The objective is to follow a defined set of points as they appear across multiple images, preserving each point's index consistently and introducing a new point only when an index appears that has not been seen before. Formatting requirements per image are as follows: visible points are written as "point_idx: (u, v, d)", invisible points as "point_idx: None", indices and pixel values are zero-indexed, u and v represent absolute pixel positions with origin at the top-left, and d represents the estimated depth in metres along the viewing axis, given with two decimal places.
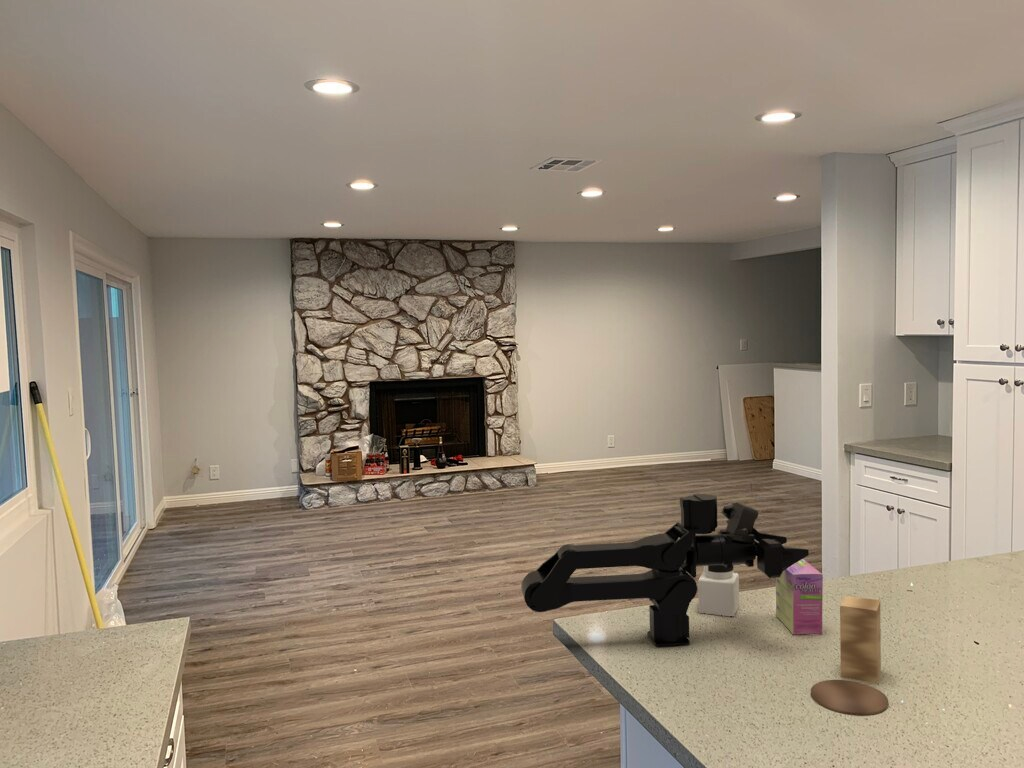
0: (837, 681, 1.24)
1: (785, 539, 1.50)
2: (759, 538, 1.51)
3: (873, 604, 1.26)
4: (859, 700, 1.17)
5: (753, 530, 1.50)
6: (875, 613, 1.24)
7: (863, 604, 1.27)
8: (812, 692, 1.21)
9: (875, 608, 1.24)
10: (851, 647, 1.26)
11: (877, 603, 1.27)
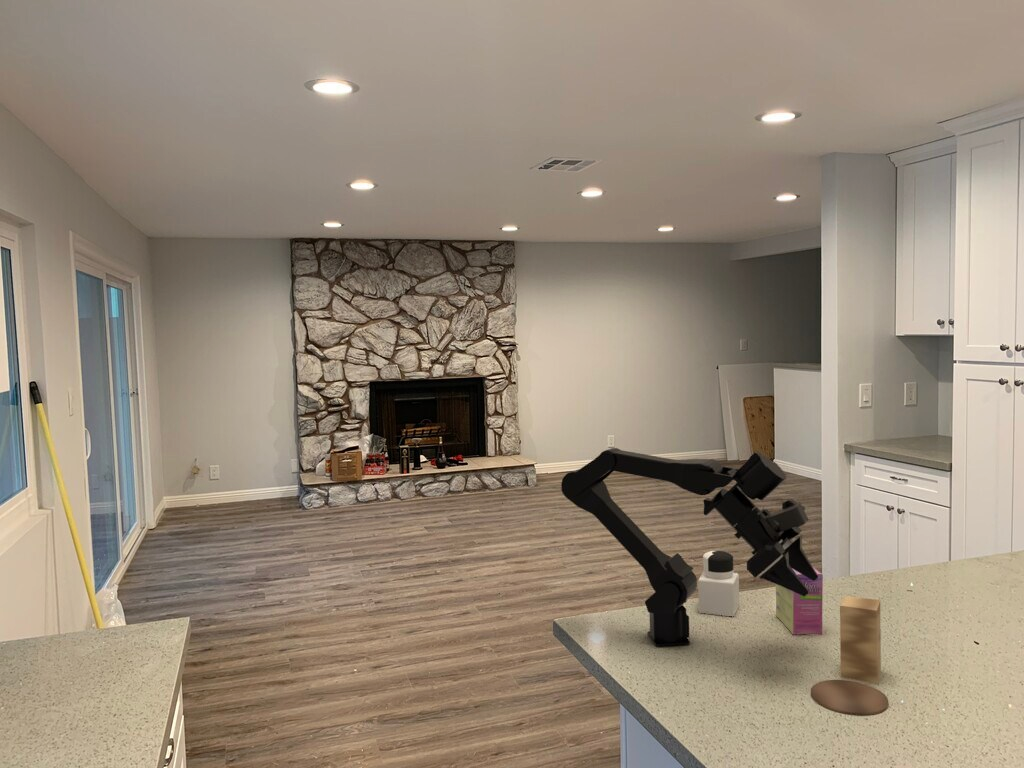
0: (837, 681, 1.24)
1: (815, 577, 1.35)
2: (795, 553, 1.37)
3: (873, 604, 1.26)
4: (859, 700, 1.17)
5: (797, 542, 1.37)
6: (875, 613, 1.24)
7: (863, 604, 1.27)
8: (812, 692, 1.21)
9: (875, 608, 1.24)
10: (851, 647, 1.26)
11: (877, 603, 1.27)
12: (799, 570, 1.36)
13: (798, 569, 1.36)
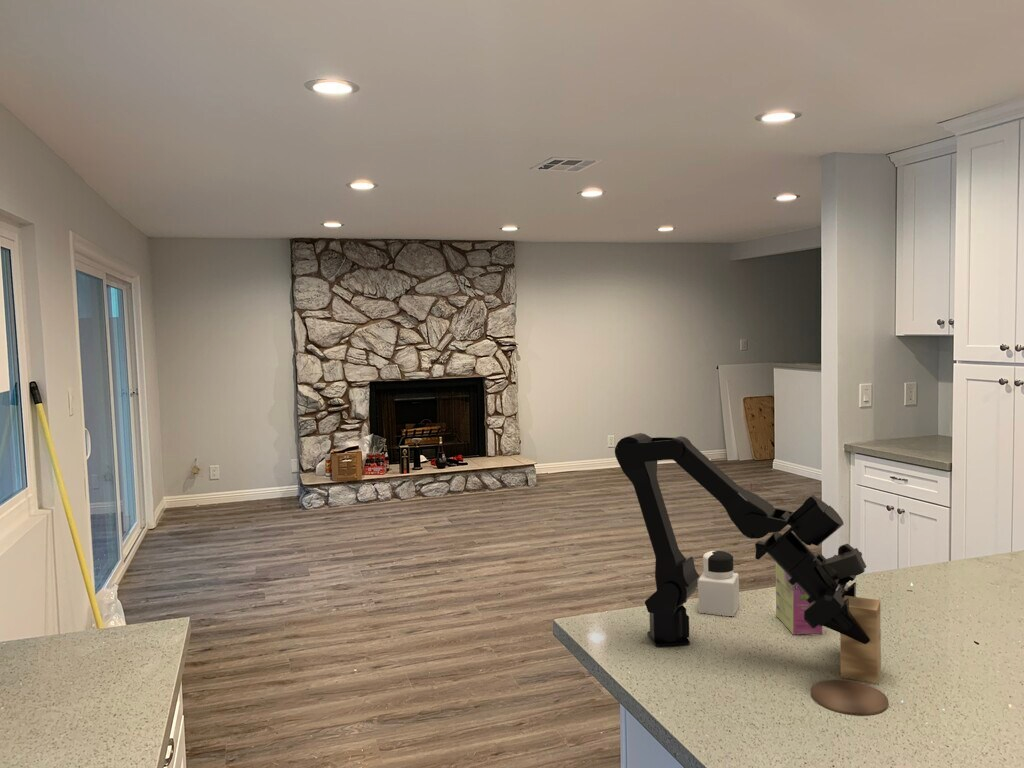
0: (837, 681, 1.24)
1: None
2: None
3: (873, 603, 1.26)
4: (859, 700, 1.17)
5: (851, 591, 1.31)
6: (875, 613, 1.24)
7: (863, 603, 1.27)
8: (812, 692, 1.21)
9: (875, 608, 1.24)
10: (851, 647, 1.26)
11: (877, 603, 1.27)
12: None
13: None
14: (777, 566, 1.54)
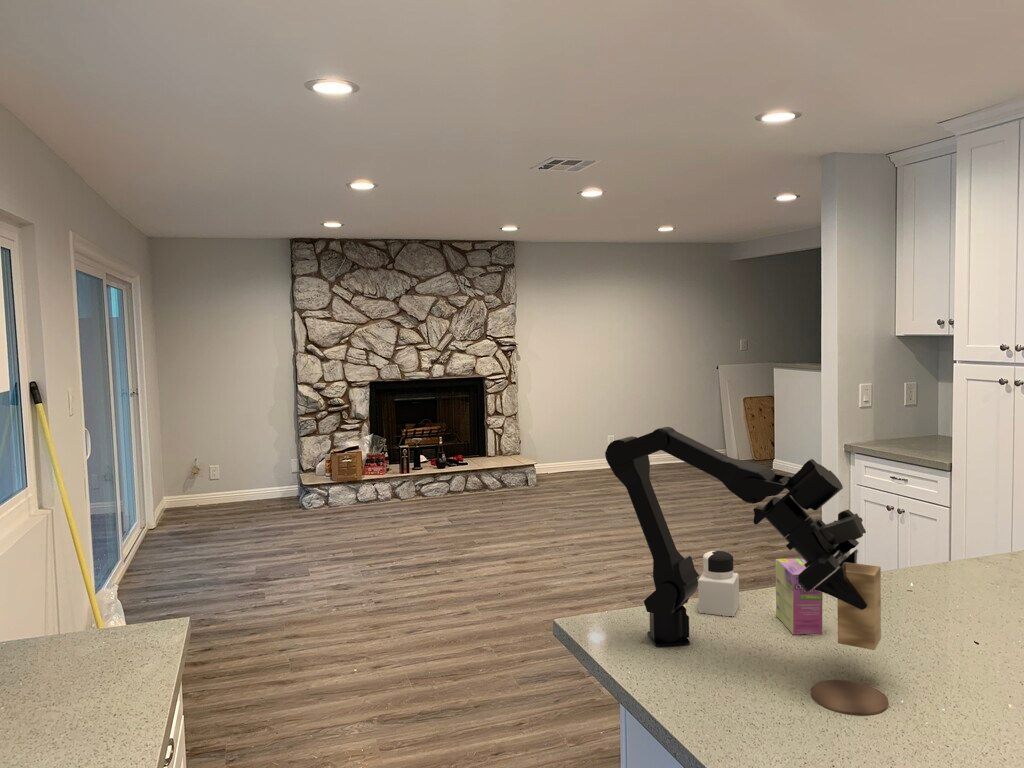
0: (837, 681, 1.24)
1: None
2: None
3: (872, 569, 1.24)
4: (859, 700, 1.17)
5: (851, 558, 1.29)
6: (873, 578, 1.21)
7: (861, 569, 1.24)
8: (812, 692, 1.21)
9: (873, 573, 1.22)
10: (848, 613, 1.24)
11: (876, 569, 1.24)
12: None
13: None
14: (777, 566, 1.53)
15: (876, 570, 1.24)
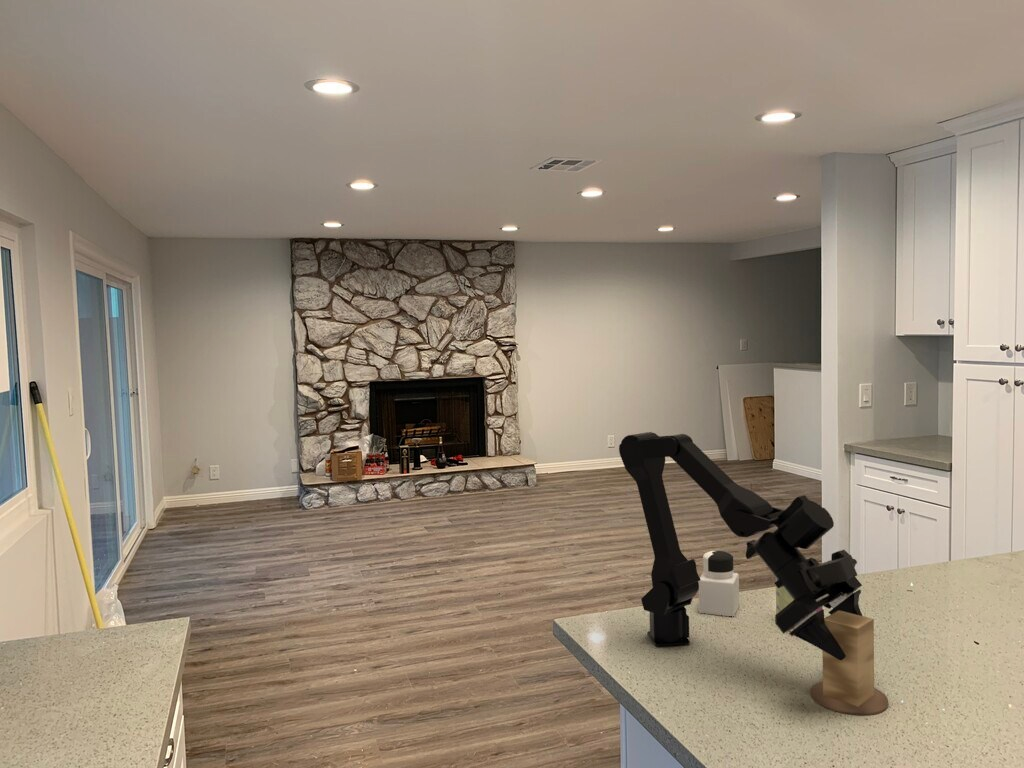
0: None
1: None
2: (848, 610, 1.23)
3: (861, 621, 1.17)
4: None
5: (851, 598, 1.23)
6: (856, 631, 1.15)
7: (849, 620, 1.18)
8: (812, 692, 1.21)
9: (857, 626, 1.16)
10: (833, 664, 1.18)
11: (866, 621, 1.17)
12: None
13: None
14: None
15: (865, 622, 1.17)
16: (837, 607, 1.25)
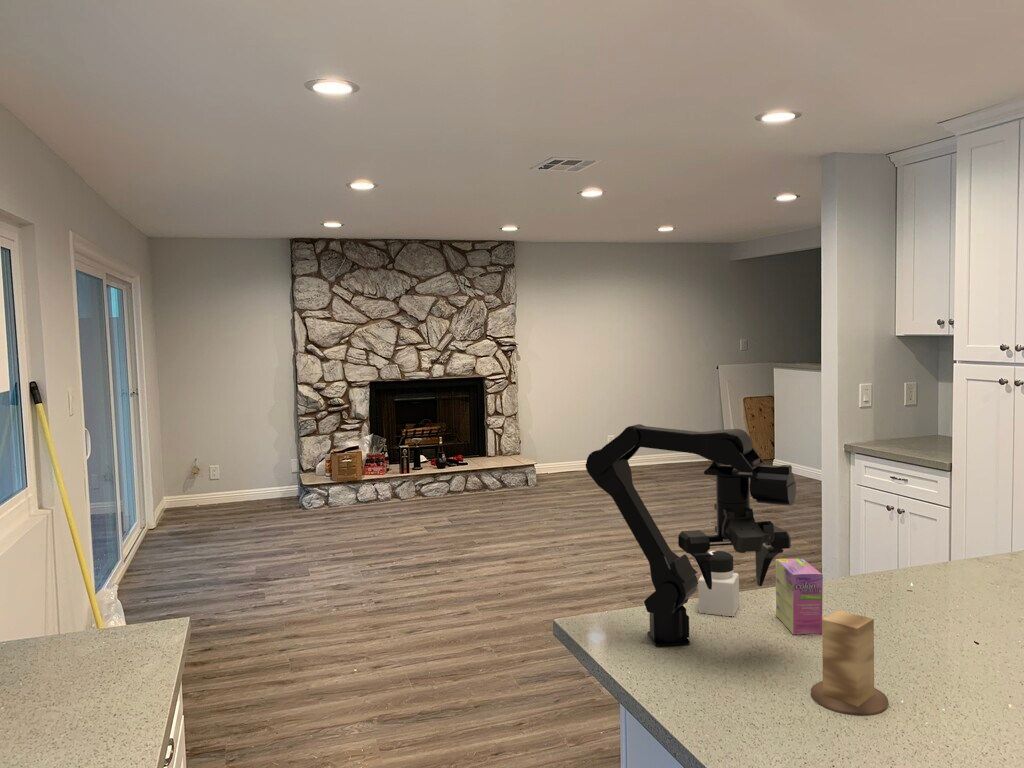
0: None
1: (758, 584, 1.37)
2: (761, 556, 1.37)
3: (861, 621, 1.17)
4: None
5: (766, 552, 1.35)
6: (856, 631, 1.15)
7: (849, 620, 1.18)
8: (812, 692, 1.21)
9: (857, 626, 1.16)
10: (833, 664, 1.18)
11: (866, 621, 1.17)
12: (756, 568, 1.39)
13: (756, 567, 1.39)
14: (777, 566, 1.54)
15: (865, 622, 1.17)
16: None
